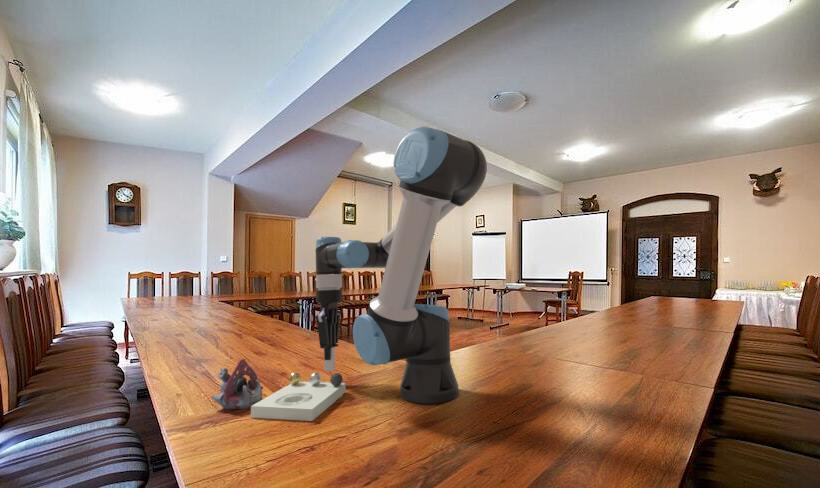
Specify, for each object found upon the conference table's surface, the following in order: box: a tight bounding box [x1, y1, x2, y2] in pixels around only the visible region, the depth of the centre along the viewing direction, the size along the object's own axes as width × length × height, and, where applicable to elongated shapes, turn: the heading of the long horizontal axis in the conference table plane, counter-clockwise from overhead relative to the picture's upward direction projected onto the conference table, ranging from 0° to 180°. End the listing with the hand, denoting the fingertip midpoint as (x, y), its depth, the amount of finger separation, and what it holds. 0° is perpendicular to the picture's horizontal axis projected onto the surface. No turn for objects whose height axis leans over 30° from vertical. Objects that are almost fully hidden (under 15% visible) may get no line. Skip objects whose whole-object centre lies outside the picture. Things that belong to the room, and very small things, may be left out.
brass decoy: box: [288, 371, 302, 385], centre depth 97 cm, size 3×3×3 cm
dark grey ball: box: [329, 372, 343, 386], centre depth 94 cm, size 3×3×3 cm
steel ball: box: [308, 372, 323, 385], centre depth 96 cm, size 3×3×3 cm
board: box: [250, 381, 347, 422], centre depth 88 cm, size 19×15×2 cm
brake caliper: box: [211, 358, 264, 410], centre depth 90 cm, size 11×11×12 cm
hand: (329, 370), depth 104 cm, fingers closed
